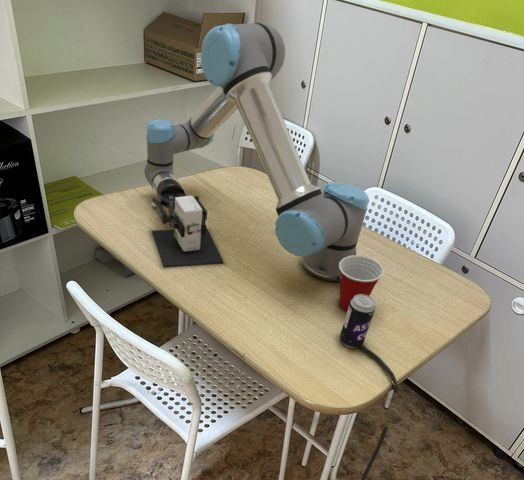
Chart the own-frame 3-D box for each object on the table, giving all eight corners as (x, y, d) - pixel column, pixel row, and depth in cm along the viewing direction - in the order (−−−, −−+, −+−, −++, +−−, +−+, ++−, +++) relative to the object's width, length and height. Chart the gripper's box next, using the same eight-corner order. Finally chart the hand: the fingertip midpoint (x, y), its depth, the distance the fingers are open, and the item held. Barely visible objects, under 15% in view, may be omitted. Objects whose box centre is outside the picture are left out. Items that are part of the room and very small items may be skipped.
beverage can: (346, 352, 118) (360, 310, 111) (334, 336, 122) (346, 294, 114) (367, 347, 121) (381, 306, 113) (354, 332, 124) (368, 291, 116)
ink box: (173, 235, 144) (174, 195, 136) (190, 234, 146) (192, 194, 138) (183, 252, 138) (184, 211, 130) (200, 249, 140) (203, 209, 132)
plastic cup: (321, 297, 133) (331, 256, 126) (355, 291, 138) (367, 251, 130) (342, 322, 127) (355, 282, 119) (378, 315, 131) (393, 275, 123)
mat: (223, 263, 139) (223, 261, 139) (163, 267, 134) (163, 265, 134) (207, 229, 151) (207, 228, 151) (151, 232, 146) (151, 230, 146)
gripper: (198, 201, 155) (225, 241, 140) (137, 205, 148) (159, 247, 133) (199, 177, 150) (228, 215, 135) (137, 180, 143) (159, 221, 128)
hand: (193, 231), depth 134 cm, fingers closed on ink box, 5 cm apart
